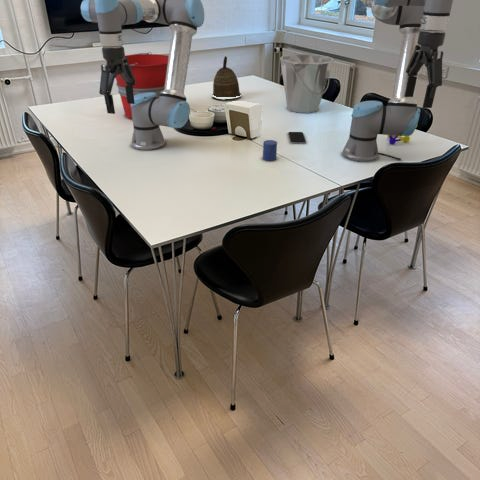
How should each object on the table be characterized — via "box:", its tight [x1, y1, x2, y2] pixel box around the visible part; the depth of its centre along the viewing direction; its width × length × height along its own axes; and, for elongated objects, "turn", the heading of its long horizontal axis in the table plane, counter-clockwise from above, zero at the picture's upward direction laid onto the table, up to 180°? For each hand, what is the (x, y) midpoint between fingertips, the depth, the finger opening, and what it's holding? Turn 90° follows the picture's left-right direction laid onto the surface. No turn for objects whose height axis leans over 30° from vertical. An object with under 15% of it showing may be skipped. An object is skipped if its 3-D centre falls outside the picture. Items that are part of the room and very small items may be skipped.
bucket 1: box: [115, 51, 169, 121], centre depth 241 cm, size 35×35×30 cm
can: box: [262, 139, 278, 162], centre depth 191 cm, size 6×6×8 cm
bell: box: [212, 56, 242, 97], centre depth 278 cm, size 19×26×20 cm
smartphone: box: [288, 131, 307, 144], centre depth 215 cm, size 7×1×15 cm
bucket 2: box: [279, 53, 334, 114], centre depth 253 cm, size 30×30×28 cm
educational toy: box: [387, 123, 418, 145], centre depth 207 cm, size 16×13×15 cm
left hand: (121, 108), depth 164 cm, fingers open, 13 cm apart
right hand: (417, 102), depth 145 cm, fingers open, 13 cm apart
